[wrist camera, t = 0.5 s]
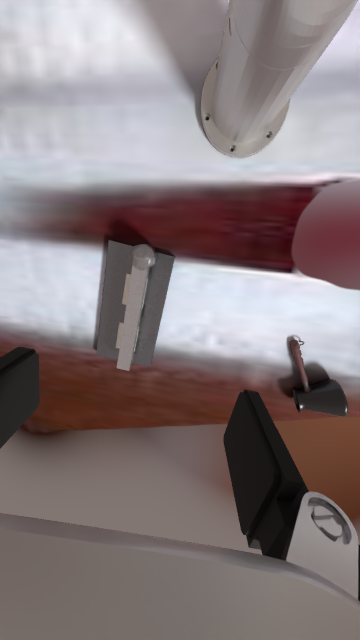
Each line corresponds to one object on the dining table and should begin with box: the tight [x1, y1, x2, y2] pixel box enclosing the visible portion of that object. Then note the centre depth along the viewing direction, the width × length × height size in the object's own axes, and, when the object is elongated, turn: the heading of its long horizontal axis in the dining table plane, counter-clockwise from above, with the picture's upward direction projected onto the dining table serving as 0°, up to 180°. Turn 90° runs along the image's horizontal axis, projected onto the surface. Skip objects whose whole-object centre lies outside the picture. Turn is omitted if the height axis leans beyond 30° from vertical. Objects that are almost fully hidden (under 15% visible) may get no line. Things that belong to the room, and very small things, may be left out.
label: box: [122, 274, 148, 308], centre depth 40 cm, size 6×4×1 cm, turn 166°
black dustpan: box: [290, 340, 348, 417], centre depth 45 cm, size 8×18×8 cm
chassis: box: [96, 240, 175, 367], centre depth 42 cm, size 24×12×1 cm, turn 166°
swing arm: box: [117, 244, 157, 371], centre depth 39 cm, size 24×4×4 cm, turn 166°
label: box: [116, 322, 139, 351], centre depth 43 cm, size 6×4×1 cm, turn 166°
